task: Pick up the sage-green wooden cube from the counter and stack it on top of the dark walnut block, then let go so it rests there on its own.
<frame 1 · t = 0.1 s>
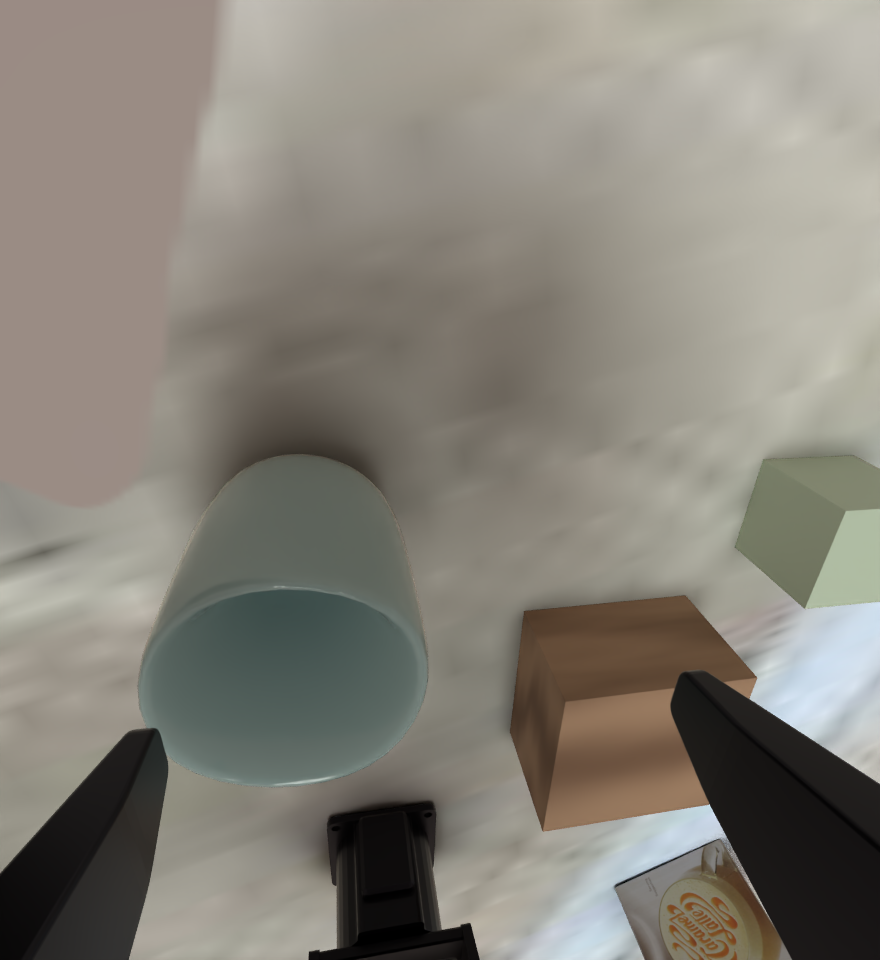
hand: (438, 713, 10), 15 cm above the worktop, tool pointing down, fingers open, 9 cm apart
cup: (305, 509, 24), on the worktop
walnut block: (592, 664, 32), on the worktop
green cube: (791, 501, 28), on the worktop
coffee box: (675, 875, 44), on the worktop
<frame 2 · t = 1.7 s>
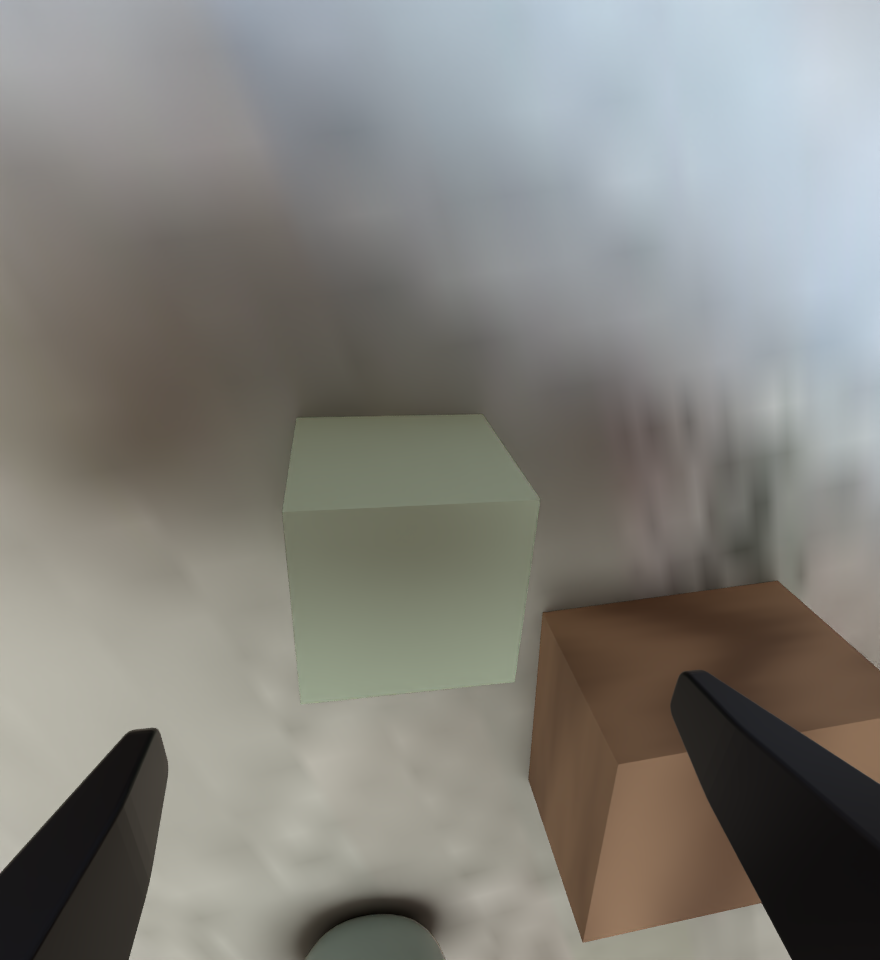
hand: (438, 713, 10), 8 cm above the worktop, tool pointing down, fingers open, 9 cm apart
cup: (368, 931, 27), on the worktop
walnut block: (642, 683, 22), on the worktop
green cube: (391, 495, 16), on the worktop
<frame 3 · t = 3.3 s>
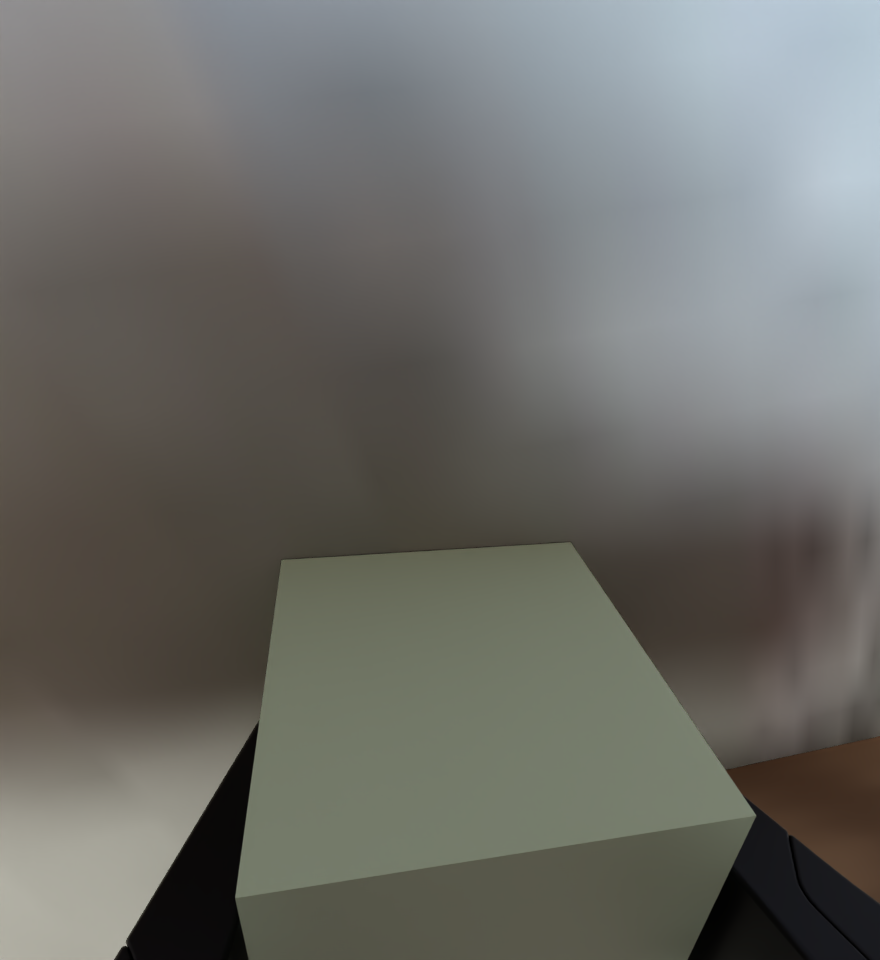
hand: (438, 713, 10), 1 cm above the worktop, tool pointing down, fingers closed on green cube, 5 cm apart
walnut block: (749, 849, 17), on the worktop
green cube: (427, 659, 11), on the worktop, touching gripper
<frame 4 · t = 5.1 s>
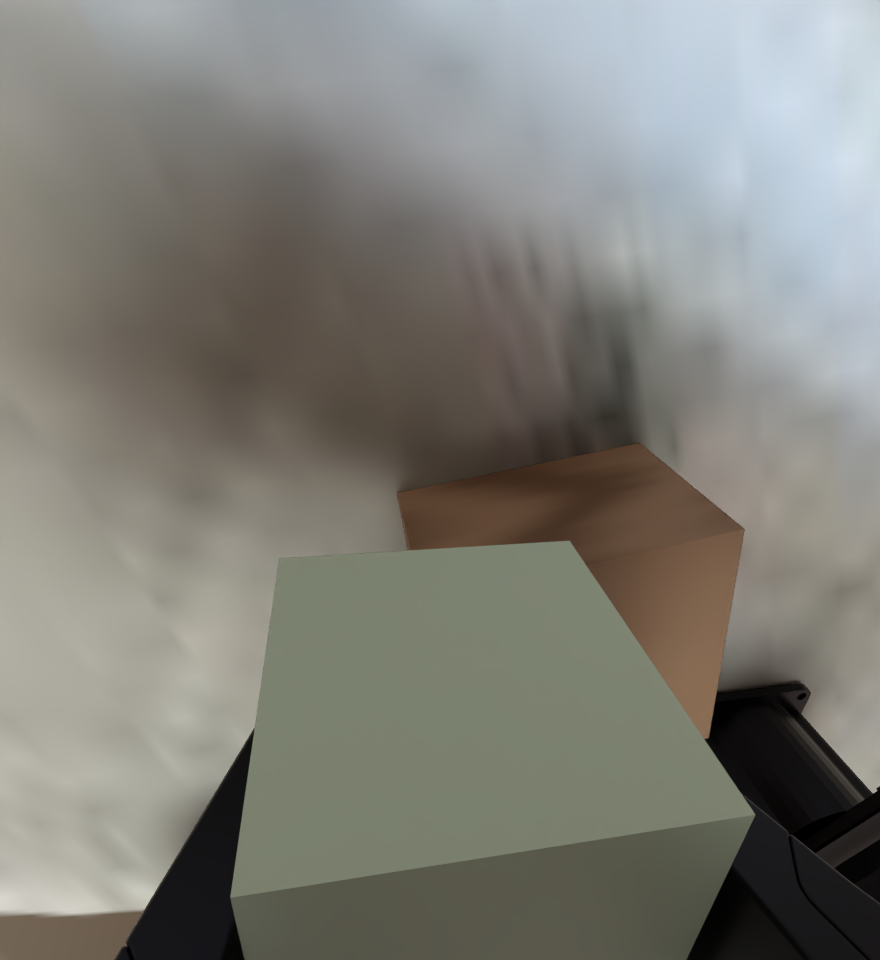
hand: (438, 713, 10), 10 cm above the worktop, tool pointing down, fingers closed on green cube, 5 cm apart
walnut block: (525, 564, 22), on the worktop
green cube: (426, 658, 11), point 9 cm above the worktop, touching gripper
when the fingers open (8 cm above the worktop, at t = 6.9 s): green cube drops 2 cm, resting on walnut block.
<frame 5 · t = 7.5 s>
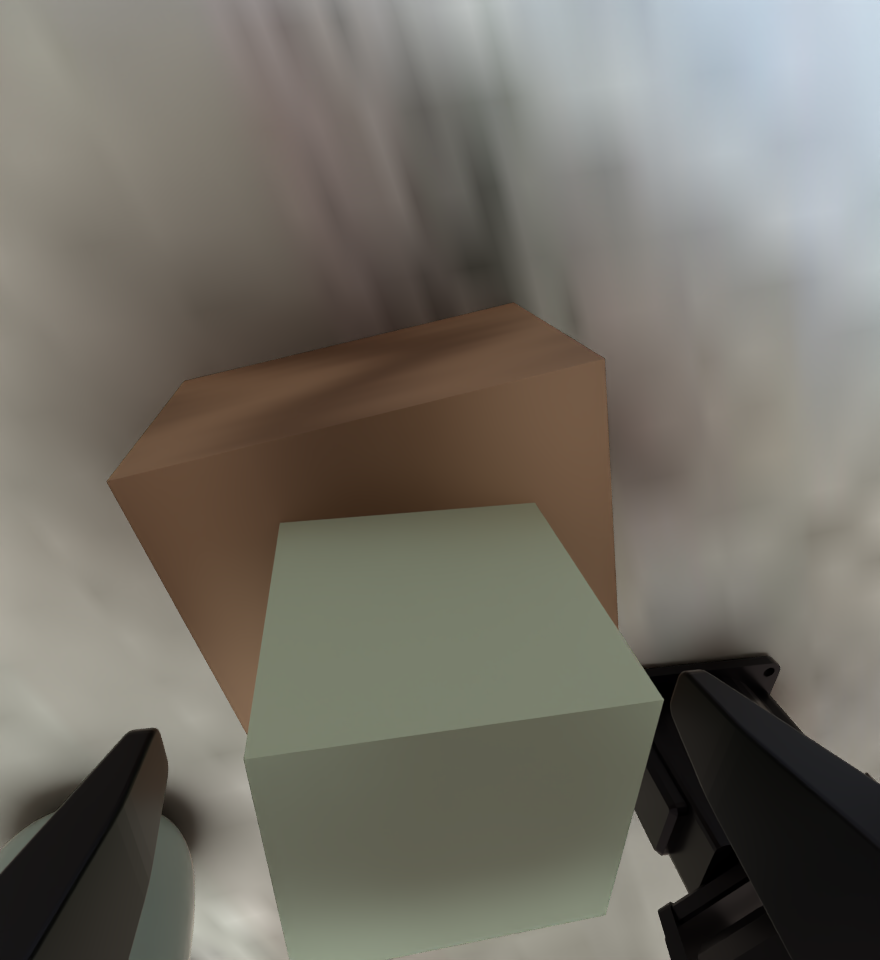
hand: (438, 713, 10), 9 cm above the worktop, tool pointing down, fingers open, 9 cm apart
cup: (112, 830, 22), on the worktop
walnut block: (390, 481, 17), on the worktop, touching green cube
green cube: (413, 612, 12), point 6 cm above the worktop, touching walnut block
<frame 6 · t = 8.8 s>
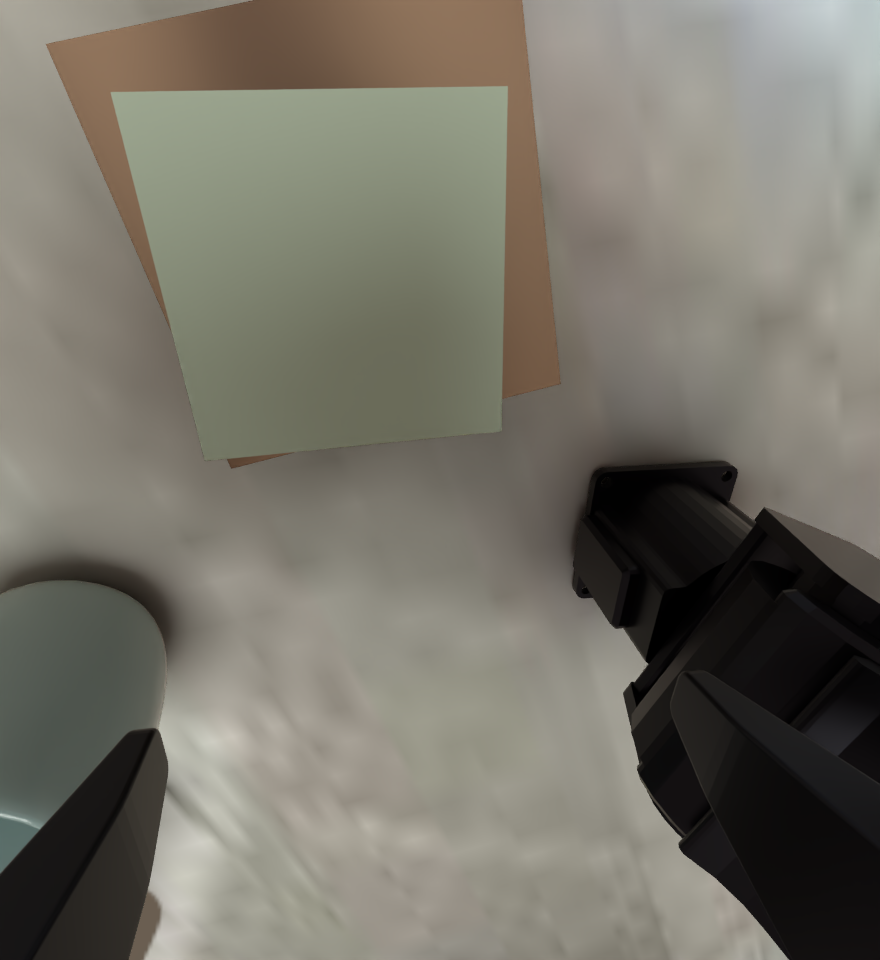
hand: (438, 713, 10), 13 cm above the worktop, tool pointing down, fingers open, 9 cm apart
cup: (87, 624, 23), on the worktop
walnut block: (346, 229, 18), on the worktop
green cube: (337, 256, 13), point 6 cm above the worktop
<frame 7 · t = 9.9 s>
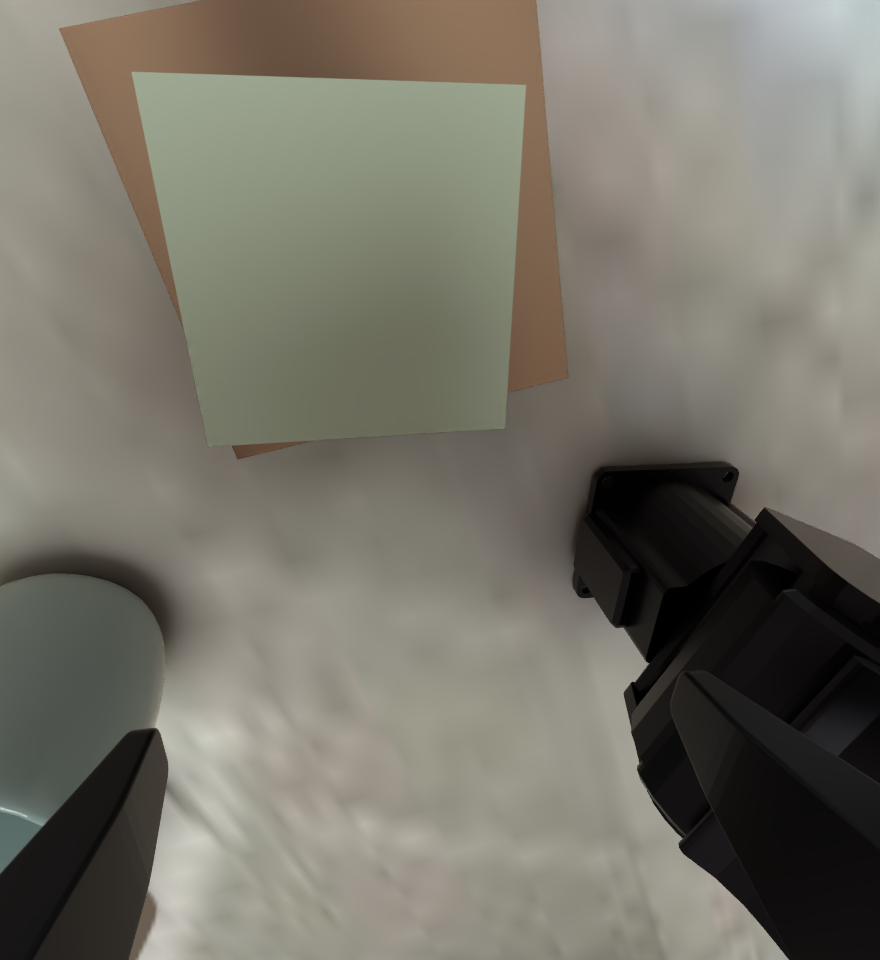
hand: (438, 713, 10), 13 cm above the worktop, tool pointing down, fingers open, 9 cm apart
cup: (86, 618, 23), on the worktop
walnut block: (353, 223, 18), on the worktop, touching green cube
green cube: (345, 250, 13), point 6 cm above the worktop, touching walnut block
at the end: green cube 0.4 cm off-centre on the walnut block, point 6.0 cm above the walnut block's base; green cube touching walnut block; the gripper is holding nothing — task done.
